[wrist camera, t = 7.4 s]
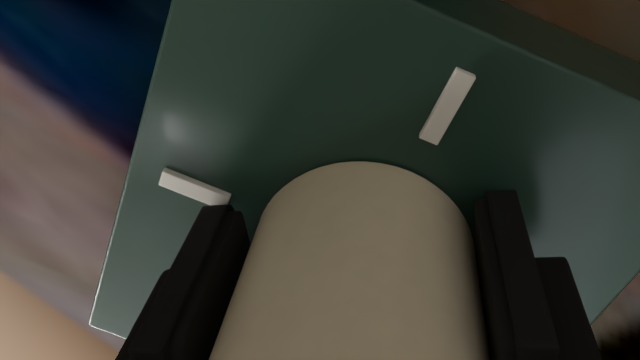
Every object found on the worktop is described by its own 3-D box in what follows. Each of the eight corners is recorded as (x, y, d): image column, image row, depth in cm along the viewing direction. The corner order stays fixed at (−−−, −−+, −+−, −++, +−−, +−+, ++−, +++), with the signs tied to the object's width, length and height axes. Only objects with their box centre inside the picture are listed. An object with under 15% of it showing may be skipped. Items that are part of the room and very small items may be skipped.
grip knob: (275, 335, 14) (211, 586, 9) (236, 166, 12) (128, 388, 7) (474, 333, 13) (509, 606, 9) (473, 153, 11) (517, 391, 6)
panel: (240, -116, 12) (191, -95, 9) (685, 82, 13) (757, 154, 10) (134, 249, 17) (83, 331, 14) (456, 373, 18) (465, 471, 15)
